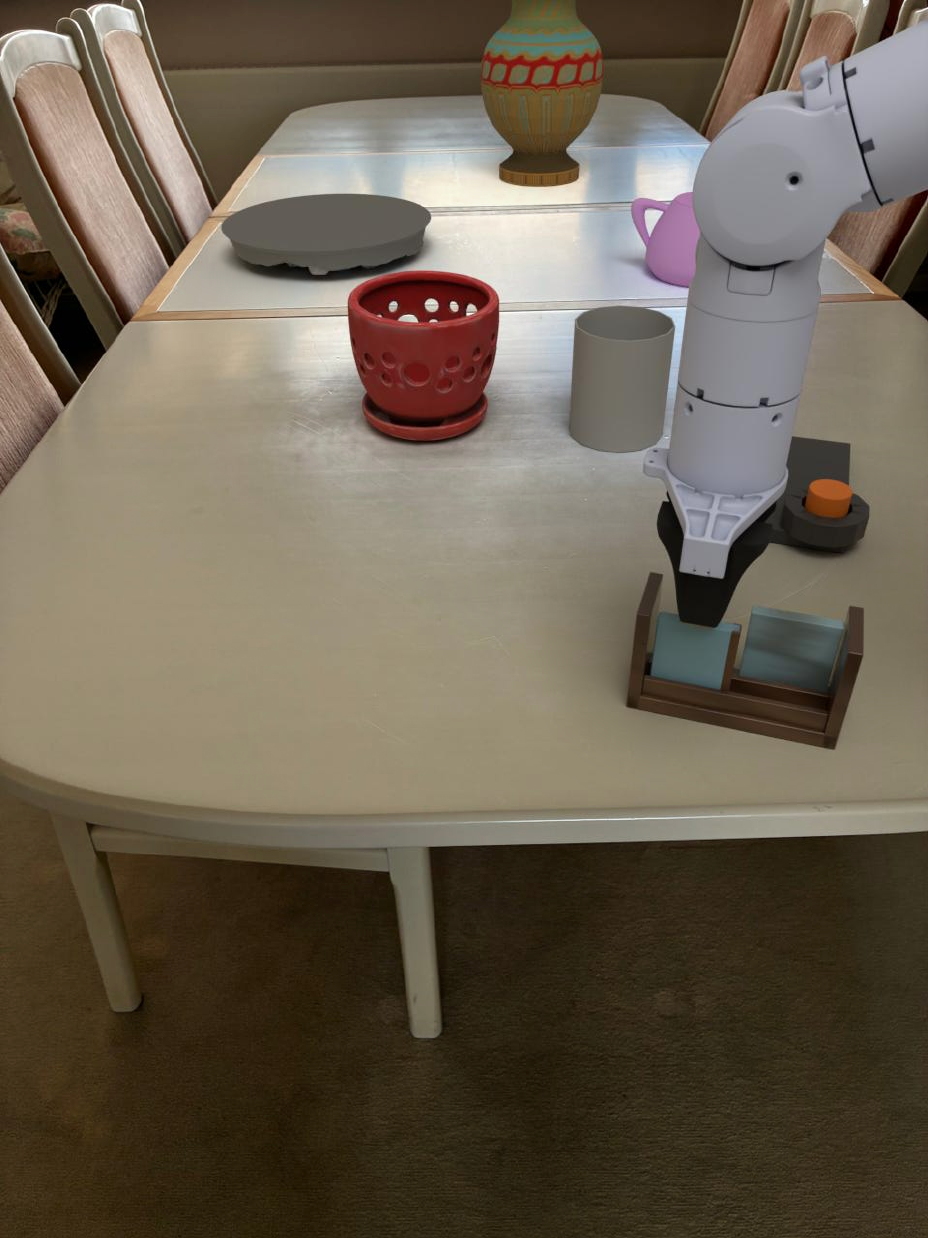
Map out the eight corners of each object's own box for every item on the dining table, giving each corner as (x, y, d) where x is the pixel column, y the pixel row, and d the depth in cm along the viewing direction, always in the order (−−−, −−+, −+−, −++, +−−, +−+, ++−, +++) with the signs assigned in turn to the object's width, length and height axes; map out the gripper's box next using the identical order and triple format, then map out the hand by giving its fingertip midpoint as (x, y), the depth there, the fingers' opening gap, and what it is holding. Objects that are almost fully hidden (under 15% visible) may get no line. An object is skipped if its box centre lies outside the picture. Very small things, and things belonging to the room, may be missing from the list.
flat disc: (423, 220, 143) (422, 189, 141) (442, 280, 121) (441, 244, 119) (234, 230, 141) (229, 198, 138) (218, 293, 119) (212, 256, 116)
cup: (667, 452, 83) (681, 340, 77) (573, 452, 84) (579, 341, 78) (654, 410, 90) (666, 304, 84) (566, 411, 90) (572, 305, 84)
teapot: (787, 296, 114) (805, 202, 108) (619, 286, 118) (627, 194, 112) (786, 261, 125) (802, 173, 118) (632, 253, 129) (639, 167, 123)
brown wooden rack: (837, 700, 58) (864, 607, 54) (835, 750, 54) (863, 655, 50) (639, 662, 61) (650, 571, 57) (625, 706, 58) (636, 613, 53)
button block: (728, 440, 85) (734, 409, 83) (861, 457, 82) (870, 425, 80) (702, 542, 72) (708, 507, 70) (859, 566, 69) (869, 531, 67)
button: (805, 496, 72) (810, 476, 71) (847, 502, 71) (853, 481, 70) (803, 516, 70) (808, 495, 69) (846, 523, 69) (852, 501, 68)
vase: (619, 173, 165) (635, -37, 147) (549, 197, 153) (556, -29, 135) (529, 158, 176) (534, -40, 157) (457, 179, 164) (453, -33, 146)
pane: (728, 690, 57) (749, 588, 52) (727, 701, 56) (747, 599, 51) (651, 675, 58) (664, 574, 53) (648, 685, 57) (661, 584, 53)
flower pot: (331, 438, 87) (317, 307, 79) (398, 383, 96) (390, 261, 89) (463, 465, 82) (460, 328, 75) (519, 404, 92) (522, 278, 84)
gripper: (677, 321, 52) (651, 534, 60) (625, 438, 41) (603, 679, 49) (813, 334, 50) (767, 553, 58) (797, 461, 39) (743, 707, 47)
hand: (701, 612), depth 54 cm, fingers closed on pane
